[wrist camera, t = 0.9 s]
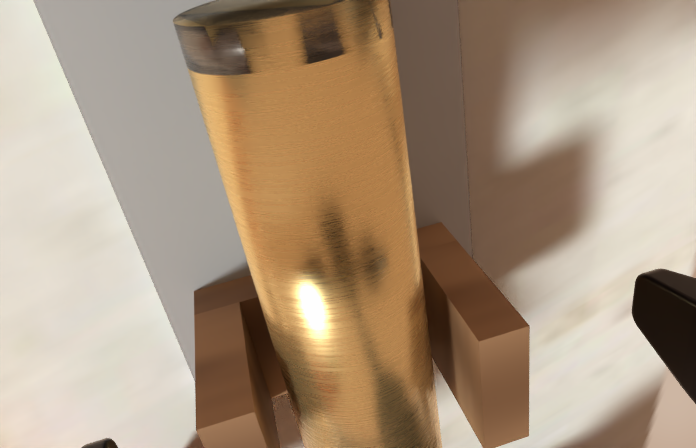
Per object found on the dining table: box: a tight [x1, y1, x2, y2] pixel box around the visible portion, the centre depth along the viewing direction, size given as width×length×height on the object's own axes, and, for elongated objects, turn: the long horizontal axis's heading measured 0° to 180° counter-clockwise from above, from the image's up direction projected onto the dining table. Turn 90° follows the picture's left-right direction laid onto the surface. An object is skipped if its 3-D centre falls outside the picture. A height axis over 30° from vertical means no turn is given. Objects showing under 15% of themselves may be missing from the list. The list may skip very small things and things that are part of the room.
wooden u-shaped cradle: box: [194, 222, 529, 448], centre depth 16 cm, size 4×8×5 cm, turn 100°
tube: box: [173, 0, 442, 448], centre depth 14 cm, size 15×4×4 cm, turn 10°
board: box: [34, 0, 473, 380], centre depth 15 cm, size 19×10×1 cm, turn 10°
